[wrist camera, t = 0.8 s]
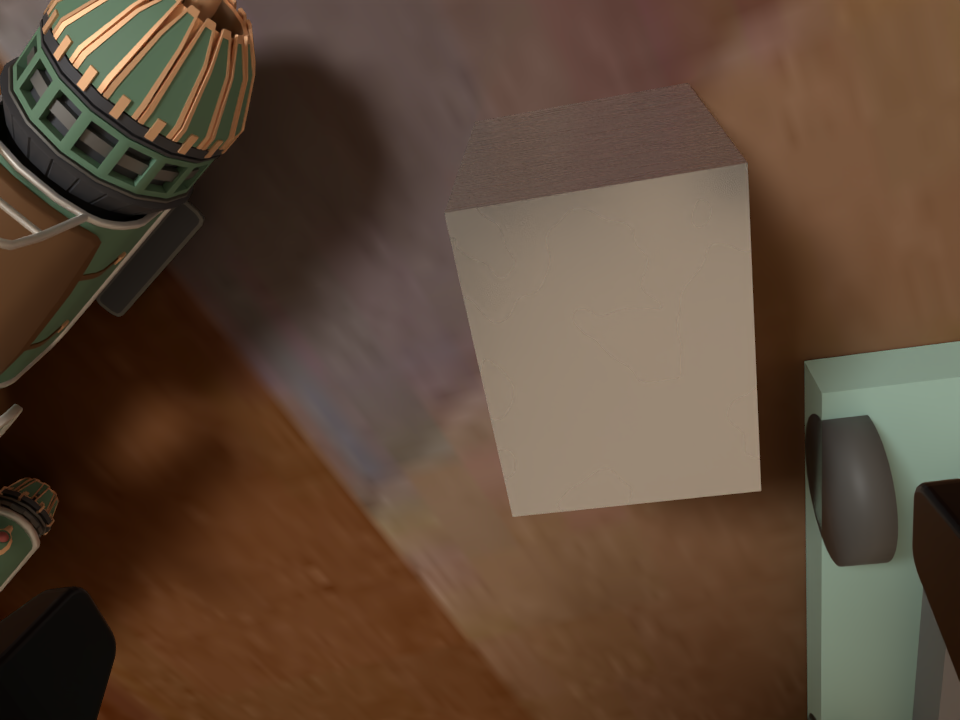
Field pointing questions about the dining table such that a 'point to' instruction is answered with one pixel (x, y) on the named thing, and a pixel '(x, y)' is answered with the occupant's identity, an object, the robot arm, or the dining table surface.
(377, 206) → the dining table surface
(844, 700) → the chassis
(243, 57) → the hoverbike
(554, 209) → the white block
